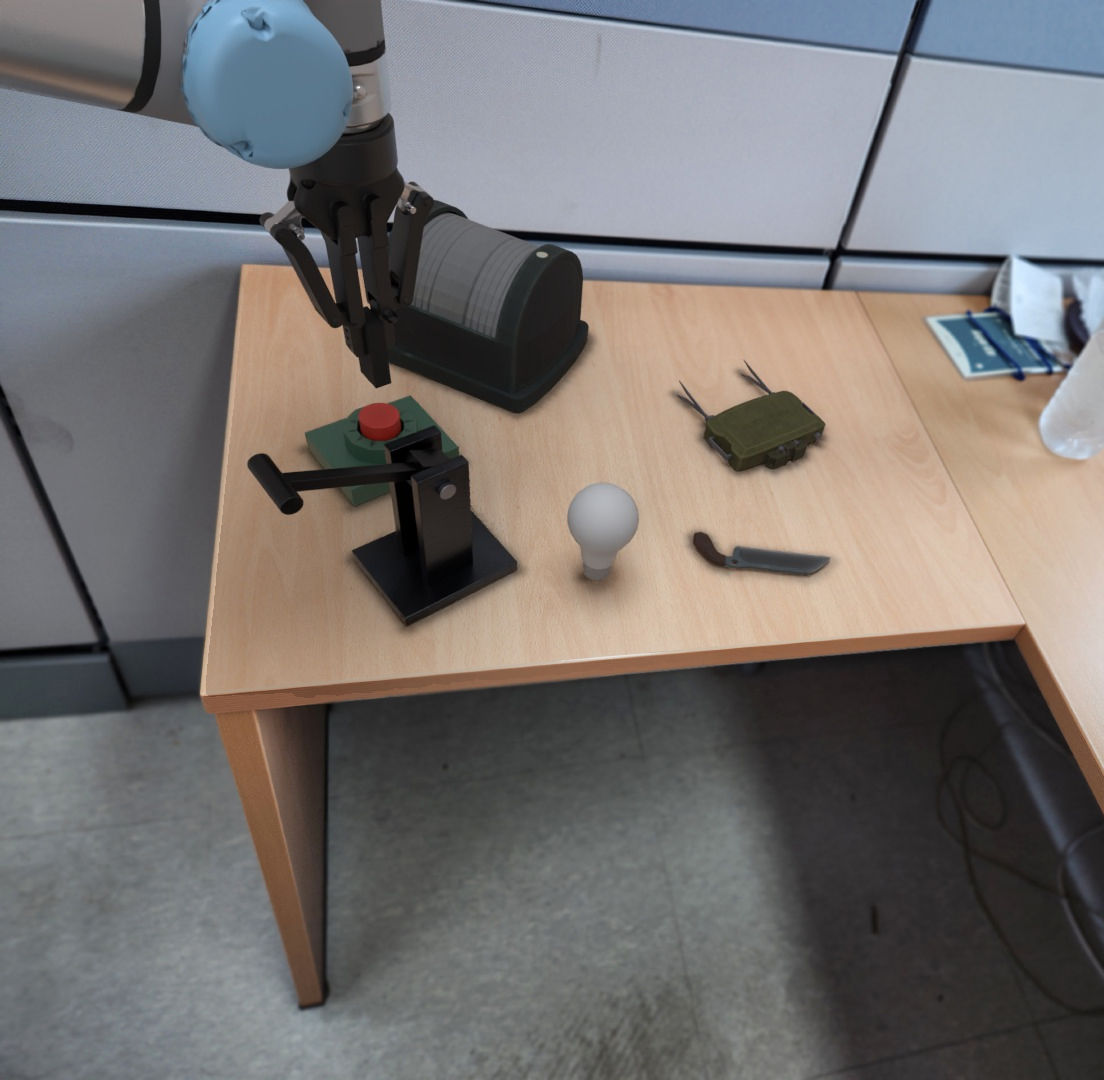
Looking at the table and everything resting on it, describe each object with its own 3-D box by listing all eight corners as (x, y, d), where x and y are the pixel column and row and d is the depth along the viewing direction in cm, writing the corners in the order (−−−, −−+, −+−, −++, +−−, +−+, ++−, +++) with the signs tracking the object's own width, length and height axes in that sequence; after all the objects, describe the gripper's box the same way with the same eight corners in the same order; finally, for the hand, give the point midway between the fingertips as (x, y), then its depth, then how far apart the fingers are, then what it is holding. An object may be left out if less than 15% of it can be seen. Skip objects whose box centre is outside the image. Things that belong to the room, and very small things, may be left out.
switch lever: (277, 521, 57) (284, 493, 56) (243, 476, 59) (249, 448, 58) (455, 498, 68) (464, 474, 67) (422, 461, 70) (430, 437, 69)
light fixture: (529, 304, 80) (344, 232, 82) (526, 417, 91) (362, 351, 93) (606, 230, 92) (442, 168, 94) (595, 339, 102) (448, 281, 104)
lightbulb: (620, 608, 77) (633, 528, 69) (554, 592, 77) (560, 510, 69) (635, 559, 81) (649, 477, 73) (572, 543, 81) (580, 460, 73)
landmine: (746, 466, 89) (664, 381, 95) (741, 484, 91) (661, 400, 97) (841, 426, 96) (759, 351, 102) (834, 444, 98) (754, 368, 104)
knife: (692, 565, 82) (693, 560, 81) (692, 534, 84) (693, 529, 84) (832, 581, 84) (834, 576, 83) (828, 550, 86) (830, 546, 86)
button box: (354, 506, 79) (348, 476, 76) (308, 449, 82) (300, 418, 79) (459, 463, 85) (458, 433, 82) (412, 411, 88) (409, 381, 85)
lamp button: (372, 446, 79) (370, 432, 78) (353, 424, 81) (351, 410, 79) (408, 433, 81) (406, 419, 80) (389, 411, 83) (387, 397, 81)
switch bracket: (406, 627, 71) (390, 517, 61) (353, 558, 75) (329, 444, 65) (517, 569, 78) (519, 461, 67) (463, 509, 81) (457, 397, 71)
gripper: (265, 150, 54) (325, 427, 72) (448, 119, 61) (463, 377, 79) (214, 99, 57) (284, 377, 74) (394, 75, 64) (420, 333, 82)
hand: (376, 377), depth 77 cm, fingers closed
